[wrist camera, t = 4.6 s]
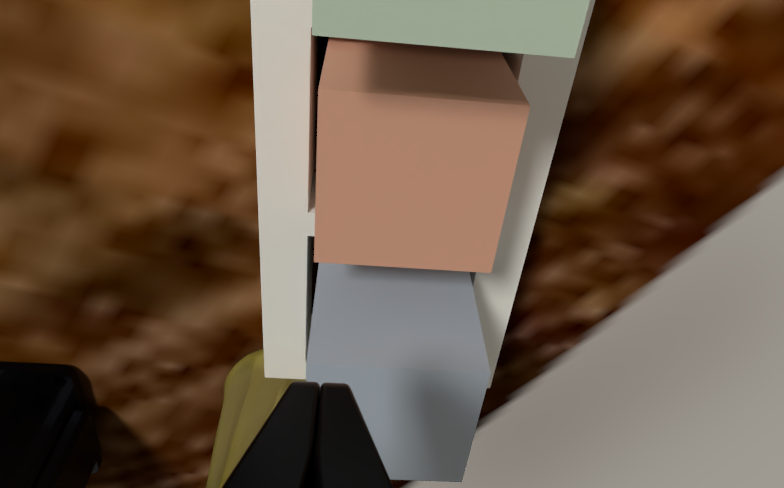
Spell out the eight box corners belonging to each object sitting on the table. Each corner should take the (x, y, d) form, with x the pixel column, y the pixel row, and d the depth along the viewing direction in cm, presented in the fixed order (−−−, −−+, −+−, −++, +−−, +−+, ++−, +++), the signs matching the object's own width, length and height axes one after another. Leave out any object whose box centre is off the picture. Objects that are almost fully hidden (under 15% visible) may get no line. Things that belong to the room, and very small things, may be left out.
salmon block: (327, 166, 19) (313, 262, 15) (332, 21, 16) (318, 88, 12) (466, 176, 19) (490, 272, 15) (492, 35, 17) (530, 106, 13)
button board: (274, 330, 23) (264, 377, 21) (257, -358, 12) (235, -393, 10) (480, 340, 24) (490, 388, 22) (638, -308, 13) (685, -331, 11)
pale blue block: (317, 347, 21) (304, 476, 17) (321, 242, 18) (306, 364, 14) (444, 353, 21) (461, 481, 17) (465, 251, 19) (490, 373, 15)
